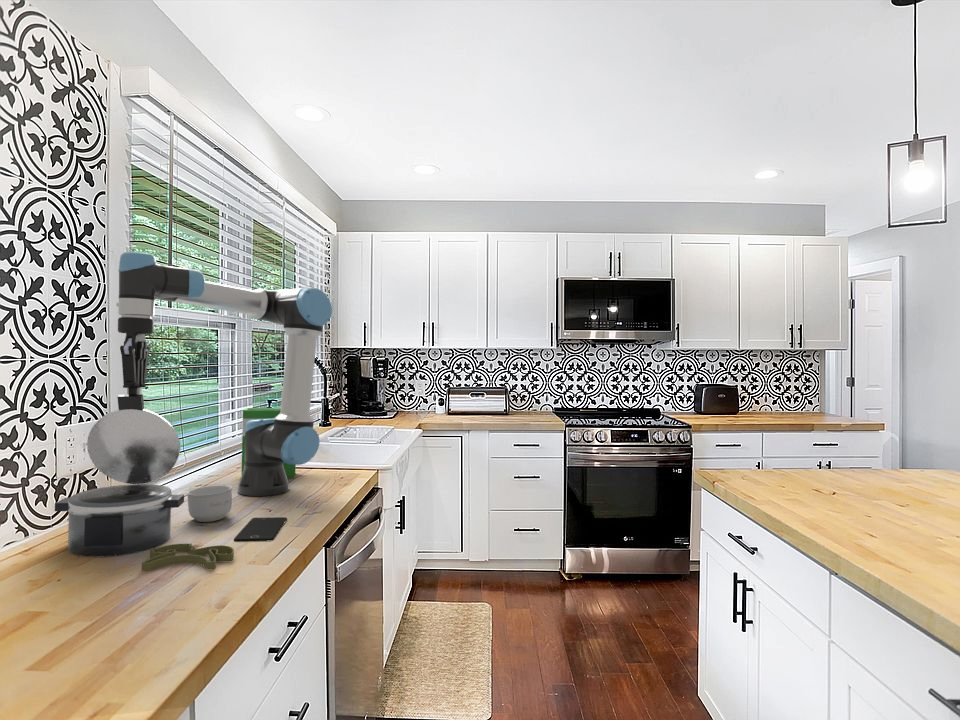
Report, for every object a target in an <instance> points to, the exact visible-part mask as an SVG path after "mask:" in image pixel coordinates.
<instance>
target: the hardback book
mask: <svg viewBox="0 0 960 720" xmlns="http://www.w3.org/2000/svg"><path fill="white" fill-rule="evenodd" d="M280 409H281V407H245V408H243V410H242V432H241V433H242V436H241V437H242V438H241V476H242V473H243V470H244V465H245V427H246V423H247V422H248V421H251V420H262V419H274V418H275V417H276V416H278V415H279V414H280ZM296 466H297V465H294V464H291V465H289V464H286V463H283V467H284V470H285V473H286V477H293V478H295V477H296V476H295V475H296ZM241 476H240V477H241ZM294 476H295V477H294Z"/></svg>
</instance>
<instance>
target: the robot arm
mask: <svg viewBox="0 0 960 720" xmlns="http://www.w3.org/2000/svg"><path fill="white" fill-rule="evenodd" d="M119 257H120V258H119V262H118V263H119V265H118V266H119V267H118V302H116V307H118V312H117V314H118V315H119V316H120V317H118V318H117V332H118V333H121V334H125V339H124V341H123V345H120V346H119V347H120V348H119V349H120V354H121V363H122V366H121V367H122V380H123V381H122V382H123V385H122V388H124V389H126V394H141V395H143V394H142V393H143V392H142V389H143V388H146V387H147V384H146V381H147V378H146V377H147V370H148V360H149V354H150V350H151V348H150V346H148V341H147V338H146V335H153V334H154V333H155V320H154V319H153V318H154V317H155V312H156V311H155V304H156V303H155V300H157V301H158V300H159V301H165V302H172V303H179V304H184V305H190V306H196V307H202V308H206V309H213V310H219V311H225V312H226V311H227V312H230V313H237V314H243V315H244V314H245V315H250V317H251V318H252V319H254V320H259V321H264V322H269V323H271V324H272V323H273V324H276V325H280V326H283V327H282V329H283V330H282V331H284V332H285V333H286V334H287V342H286V351H285V361H284V371H283V381H282V392H281V399H280V400H281V401H280V408H281V409H280V414H279V415H278V416H276V417H275V418H274V419H262V420H251V421H248V422H247V423H246V427H245V465H244V470H243V473H242V472H241V474H242V476H240V479H239V482H238V485H237V493H238V494H239V495H241V496H246V497H247V496H250V497H265V496H275V495H279V494H283V492H284V493H286V492H287V491H289V480H288V478H287V477H286V473H285V470H284V467H283V463H286V464H289V465H291V464H294V465H296V466H301V465H303V464H304V465H305V464H307V463H308V462H310V461H311V460H312V459H313V458H315V456H316V454H317V453H318V450H319V449H320V448H319V447H320V443H321V442H320V441H321V440H320V436H319V434H318V432H317V430H316V429H314V424H315V422H314V419H313V418H312V417H311V415H310V411H311V402H312V401H311V400H312V393H313V392H312V391H313V379H314V369H315V360H316V359H315V358H316V348H317V339H318V337H320V336H321V335H322V334H323V328H324V325H326V324H328V322H329V321H330V319H332V318H331V317H332V314H333V305H332V302H331V299H330V298H329V297H328V295H327V294H326V293H325V292H324V291H323V290H321V289H319V288H315V287H307V286H306V287H302V288H301V287H300V288H286V289H276V290H273V289H271V290H269V289H263V288H256V289H255V290H252V289H246V288H244V287H243V288H242V287H241V288H240V287H237V286H234V285H233V286H232V285H229V284H228V285H227V284H222V283H216V282H212V281H208V280H206V278H205V275H204V274H203V272H201V271H200V270H197V269H191V267H190V268H189V267H188V268H185V267H179V266H178V267H177V266H169V265H164V264H163V265H162V264H159V263H157V260H156V259H157V258H156V256H155V255H153V254H150V253H145V252H139V251H127V252H123V253H122V254H121V255H120V256H119ZM152 317H153V318H152Z"/></svg>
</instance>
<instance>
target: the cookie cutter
mask: <svg viewBox="0 0 960 720" xmlns="http://www.w3.org/2000/svg"><path fill="white" fill-rule="evenodd" d="M195 547H196V546H195V545H193V544H192V543H173V544H168V545H167V544H166V545H163V546H159V547H157V548H156V547H154V548H151V549H149V551H150V552H149V559H147V560H145V561H142V562H141V572H143V571H144V572H150V571H153V570H155V569H158V568H162V567H165V566H166V567H167V566H169V565H175V564H185V563H186V564H188V563H189V564H190V563H192V564H197V563H198V564H197V565H201V564H202V565H201V566H203V565H204V566H203V567H205V568H207V569H212V570H215V569H216V567H217V564H216V563H217V562H216V561H232V560H234V559H233V558H235V557H234V556H235V555H234V554H235V550H234V548H233V547H232V546H229V545H222V544H221V545H212V546H211V545H210V546H205V547H200V548H199V547H198V548H195ZM177 552H179V553H180V552H188V553H189V554H177ZM225 553H227V554H225ZM206 554H208V559H209V558H210V559H211V560H212V561H211V560H210V559H209V560H210V561H209V560H208V559H207V557H204V556H207V555H206ZM202 555H203V556H202ZM232 562H233V561H232ZM207 569H206V570H207Z"/></svg>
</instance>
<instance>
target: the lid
mask: <svg viewBox="0 0 960 720" xmlns="http://www.w3.org/2000/svg"><path fill="white" fill-rule="evenodd" d="M117 404H118V408H117V409H114V410H112V411H111V412H108V413H105V415H103V416H102V417H101V418H100V419H98V420H97V421H96V423H94V424H93V425H92V428H91V429H90V431H89V433H88V435H87V436H88V437H87V440H86V441H87V442H86V447H87V448H86V449H87V454H88V456H89V458H90V460H91V463H92V464H93V465H94V466H95V467H96V468H97V470H98V471H99V472H101V473H102V474H103V475H105V476H106V477H108V478H110V479H111V480H114V481H117V482H120V483H124V484H127V485H133V484H148V483H152V482H156V481H157V480H160V479H162V478H163V477H165V476H166V475H168V473H170V471H172V470H173V468H174V466H175V465H176V464H177V461H178V460H179V457H180V452H181V441H180V438H179V435H178V432H177V431H176V430H175V428H174V427H173V425H172V424H171V423H170V422H169V421H168V420H167V419H166V418H164V417H163V416H162V415H159V414H158V413H156V412H154V411H151V410H149V409H145V403H144V394H142V395H141V394H127V393H123V394H121V393H120V394H118V395H117Z"/></svg>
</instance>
